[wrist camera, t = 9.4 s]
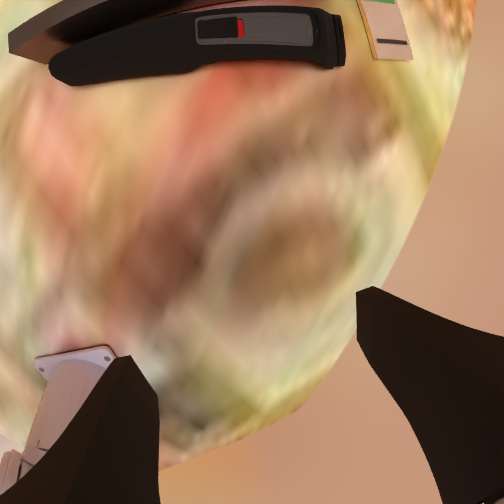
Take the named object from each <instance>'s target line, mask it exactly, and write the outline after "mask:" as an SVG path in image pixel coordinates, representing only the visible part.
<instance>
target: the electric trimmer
mask: <svg viewBox="0 0 504 504" xmlns="http://www.w3.org/2000/svg"><path fill="white" fill-rule="evenodd" d="M242 59H295V60H307V61H313V62H317V63H319V64H320V65H322V66H324V67H325V68H327V69H333V68H334V67H335V66H336V65H337V66H344V65H345V59H346V50H345V40H344V32H343V26H342V20H341V16H340V15H335V14H330V13H328V12H326V11H324V10H322V9H320V8H311V7H301V6H247V7H233V8H222V9H213V10H206V11H199V12H188V13H179V14H174V15H168V16H164V17H159V18H155V19H151V20H147V21H143V22H139V23H135V24H132V25H128V26H125V27H122V28H118V29H115V30H112V31H109V32H106V33H103V34H100V35H98V36H95V37H92V38H90V39H87V40H85V41H82V42H80V43H77V44H75V45H73V46H71V47H69V48H67V49H65V50H63V51H61V52H59V53H57V54H55V55H54V56H53V57H52V58H51V59H50V62H49V71H50V73H51V75H52V76H53V77H55V78H56V79H57V80H59V81H61V82H63V83H65V84H67V85H70V86H82V85H88V84H94V83H101V82H107V81H113V80H120V79H128V78H136V77H146V76H157V75H168V74H179V73H187V72H191V71H193V70H195V69H197V68H199V67H201V66H203V65H206V64H210V63H214V62H218V61H225V60H242Z"/></svg>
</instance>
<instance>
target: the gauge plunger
mask: <svg viewBox="0 0 504 504" xmlns="http://www.w3.org/2000/svg"><path fill="white" fill-rule="evenodd" d="M228 1H235V0H63V1H61V2H59V3H57V4H55V5H53V6H52V7H50V8H48V9H46V10H44V11H43V12H41V13H39V14H38V15H36V16H34V17H33V18H31V19H29V20H28V21H26V22H25V23H23V24H22V25H20V26H18V27H17V28H15V29H14V30H13V31H11V32H10V33H8V43H9V53H11V54H14V55H18V56H21V57H24V58H27V59H30V60H34V61H37V62H40V63H43V64H47V63H49V62H50V59H51V58H52V57H53V56H54V55H55V54H57V53H59V52H61V51H63V50H65V49H67V48H69V47H71V46H73V45H75V44H77V43H80V42H82V41H85V40H87V39H90V38H92V37H95V36H98V35H100V34H103V33H106V32H109V31H112V30H115V29H118V28H122V27H125V26H128V25H132V24H135V23H139V22H143V21H147V20H150V19H153V18H156V17H160V16H163V15H167V14H171V13H174V12H178V11H182V10H187V9H191V8H196V7H200V6H205V5H211V4H216V3H222V2H228Z"/></svg>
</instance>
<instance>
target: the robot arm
mask: <svg viewBox="0 0 504 504" xmlns="http://www.w3.org/2000/svg"><path fill="white" fill-rule="evenodd" d="M356 311H357V341H358V343H359V345H360V347H361V349H362V351H363V352H364V355H365V357H366V358H367V360H368V362H369V364H370V365H371V367H372V368H373V370H374V371H375V373H376V374H377V375H378V377H379V378H380V380H381V381H382V383H383V384H384V385H385V387H386V388H387V390H388V391H389V393H390V394H391V395H392V397H393V398H394V400H395V401H396V403H397V404H398V406H399V407H400V408H401V410H402V411H403V413H404V415H405V416H406V418H407V419H408V421H409V423H410V425H411V427H412V429H413V431H414V433H415V435H416V437H417V439H418V441H419V443H420V445H421V447H422V449H423V451H424V454H425V456H426V458H427V461H428V463H429V465H430V468H431V471H432V473H433V476H434V478H435V481H436V484H437V487H438V490H439V493H440V496H441V499H442V502H443V504H482V503H483V502H484V504H504V337H503V336H498V335H494V334H490V333H487V332H483V331H480V330H477V329H473V328H470V327H467V326H464V325H461V324H459V323H456V322H453V321H451V320H448V319H446V318H443V317H441V316H438V315H436V314H434V313H431V312H429V311H427V310H424V309H422V308H420V307H418V306H415V305H413V304H411V303H409V302H407V301H405V300H403V299H400V298H399V297H396V296H394V295H392V294H390V293H388V292H385V291H383V290H381V289H379V288H376V287H374V286H371V287H369V288H366V289H363V290H360V291H358V292H356ZM106 356H108V357H110V358H108V357H106ZM33 363H34V365H35V367H36V368H37V369H38V371H39V372H40V373H41V375H42V376H43V377H44V378H45V380H46V381H47V382H48V383H47V386H46V388H45V391H44V394H43V396H42V399H41V402H40V404H39V407H38V410H37V413H36V415H35V418H34V421H33V424H32V427H31V430H30V433H29V437H28V440H27V443H26V446H25V449H24V451H23V452H22V454H21V453H19V452H18V451H16V450H14V449H13V450H12V451H11V452H10V451H8V452H4V454H3V457H2V460H1V463H0V504H160V497H159V487H158V486H159V485H158V460H159V427H160V421H159V408H158V397H157V394H156V393H155V391H154V390H153V389H152V387H151V386H150V384H149V383H148V381H147V380H146V378H145V377H144V375H143V374H142V372H141V371H140V369H139V368H138V366H137V365H136V363H135V362H134V360H133V358H132V357H131V355H129V356H124V357H119V358H116V357H115V356H114V354H113V352H112V351H111V349H110V348H108V347H107V346H99V347H94V348H89V349H84V350H79V351H74V352H68V353H63V354H57V355H52V356H46V357H40V358H36V359H35V360H34V362H33Z"/></svg>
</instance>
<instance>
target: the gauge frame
mask: <svg viewBox="0 0 504 504" xmlns="http://www.w3.org/2000/svg"><path fill="white" fill-rule="evenodd" d="M357 3H358V6H359V9H360V12H361V15H362V18H363V22H364V25H365V28H366V32H367V36H368V39H369V43H370V47H371V51H372V55H373V59H374V60H404V61H411V60H413V55H412V51H411V47H410V43H409V40H408V36H407V32H406V29H405V25H404V22H403V19H402V16H401V12H400V9H399V6H398V3H397V0H357Z"/></svg>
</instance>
